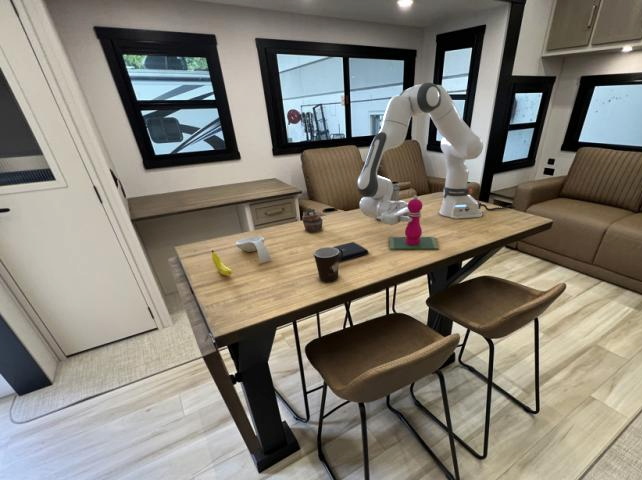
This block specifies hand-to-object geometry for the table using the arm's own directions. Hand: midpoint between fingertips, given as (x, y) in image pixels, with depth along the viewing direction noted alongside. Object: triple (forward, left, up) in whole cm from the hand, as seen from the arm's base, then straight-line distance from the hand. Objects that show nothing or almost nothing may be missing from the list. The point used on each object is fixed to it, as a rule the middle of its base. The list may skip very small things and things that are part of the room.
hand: (416, 217), depth 131 cm
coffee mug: (+32, +30, -12) cm, 45 cm away
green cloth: (+1, -1, -12) cm, 12 cm away
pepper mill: (+1, -1, -11) cm, 11 cm away
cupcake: (+48, -19, -12) cm, 52 cm away
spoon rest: (+66, +9, -12) cm, 68 cm away
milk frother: (+13, -38, -12) cm, 41 cm away
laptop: (+31, +11, -12) cm, 34 cm away
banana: (+72, +28, -12) cm, 78 cm away
